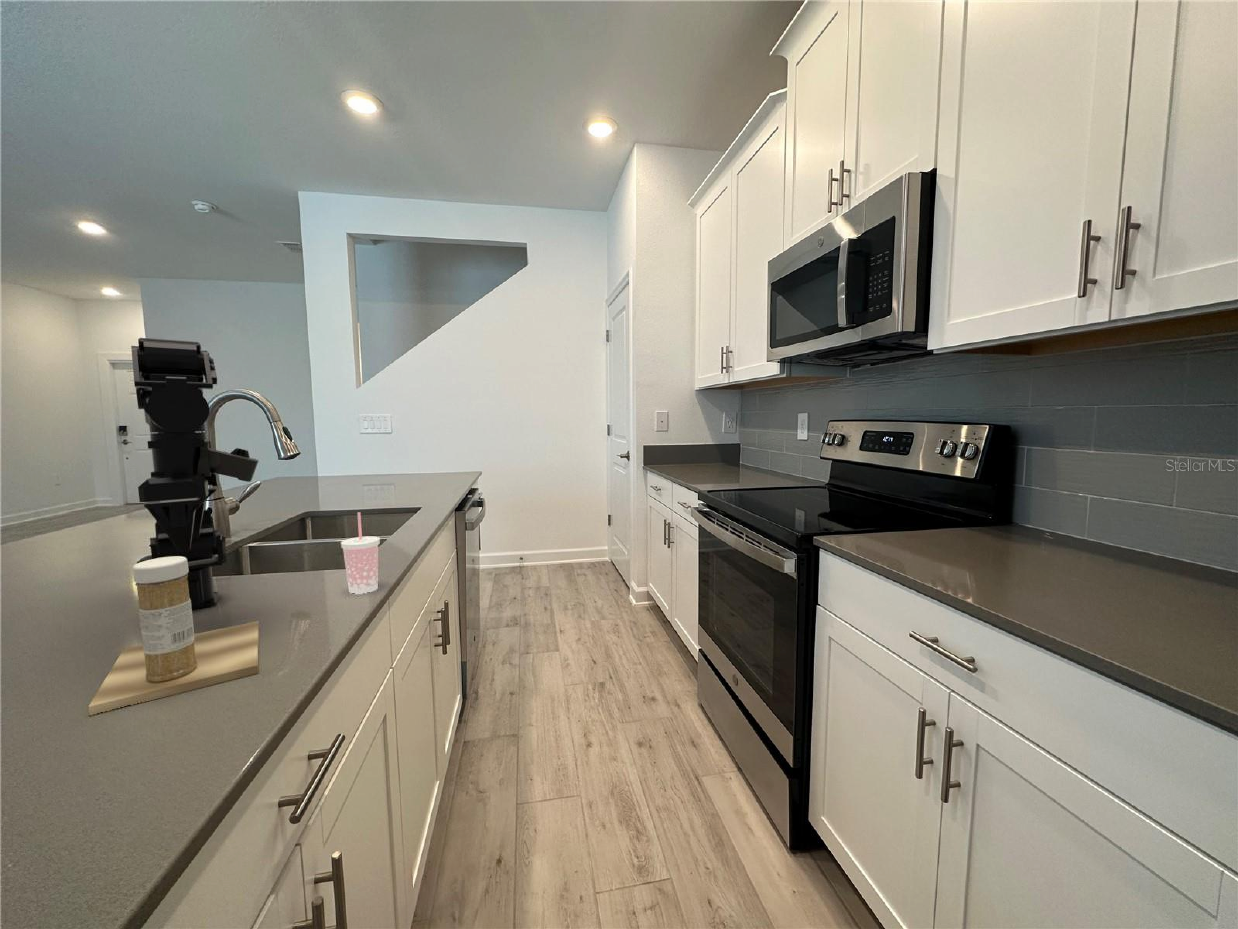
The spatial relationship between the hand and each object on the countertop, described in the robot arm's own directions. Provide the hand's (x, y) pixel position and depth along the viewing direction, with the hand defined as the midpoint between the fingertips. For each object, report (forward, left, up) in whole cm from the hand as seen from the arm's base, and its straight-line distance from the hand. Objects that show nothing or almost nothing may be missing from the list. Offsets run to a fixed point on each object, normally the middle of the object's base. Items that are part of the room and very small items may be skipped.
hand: (189, 544), depth 68 cm
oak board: (+11, 0, -13) cm, 17 cm away
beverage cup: (-6, +22, -13) cm, 26 cm away
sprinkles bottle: (+15, -1, -12) cm, 20 cm away
